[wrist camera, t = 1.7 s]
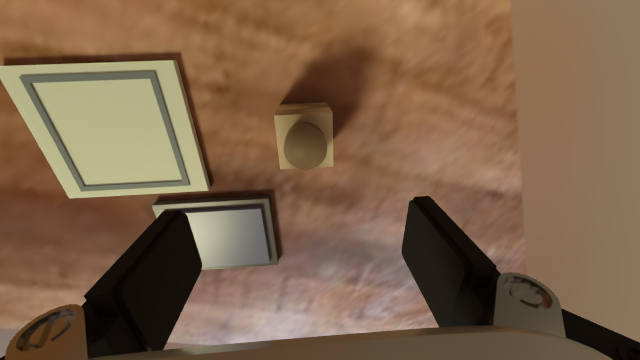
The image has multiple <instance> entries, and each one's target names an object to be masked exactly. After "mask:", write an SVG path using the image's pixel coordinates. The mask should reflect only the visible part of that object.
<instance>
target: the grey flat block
mask: <svg viewBox="0 0 640 360" xmlns="http://www.w3.org/2000/svg"><path fill="white" fill-rule="evenodd" d="M152 208H153V210H154V212H155V215H156V217H158V216H159V215H160V214H161V213H162V212H163V211H169V210H181V211H182V212H183V213H185V214H186V215H187V217H188V220H189V223H190V226H191V229H192V232H193V236H194V239H195V242H196V245H197V248H198V251H199V254H200V258H201V261H202V270H208V269H223V268H237V267H251V266H266V265H278V262H279V258H278V251H277V244H276V237H275V230H274V223H273V216H272V209H271V202H270V195H256V196H238V197H221V198H204V199H186V200H169V201H156V202H155V203H154V204H153V205H152Z"/></svg>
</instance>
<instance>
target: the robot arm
mask: <svg viewBox="0 0 640 360" xmlns="http://www.w3.org/2000/svg"><path fill="white" fill-rule="evenodd" d="M402 255H403V258H404V260H405V262H406V264H407V266H408V268H409V270H410V271H411V273H412V275H413V277H414V279H415V281H416V283H417V285H418V287H419V289H420V291H421V293H422V295H423V296H424V298H425V300H426V302H427V304H428V306H429V308H430V310H431V312H432V314H433V316H434V318H435V320H436V321H437V323H438V325H439V327H438V328H421V329H408V330H395V331H382V332H369V333H357V334H344V335H331V336H319V337H307V338H295V339H283V340H271V341H259V342H248V343H236V344H225V345H214V346H203V347H191V348H180V349H169V350H163V349H164V347H165V344H166V343H167V341H168V338H169V336H170V334H171V332H172V330H173V328H174V326H175V324H176V322H177V320H178V318H179V316H180V314H181V312H182V310H183V308H184V305H185V303H186V301H187V299H188V297H189V295H190V293H191V291H192V289H193V287H194V285H195V283H196V281H197V279H198V277H199V275H200V272H201V270H202V261H201V258H200V254H199V251H198V248H197V245H196V242H195V239H194V236H193V232H192V229H191V226H190V223H189V220H188V217H187V215H186V214H185V213H183V212H182V211H181V210H169V211H163V212H162V213H161V214H160V215H159V216H158V217H157V218H156V219H155V221H154V222H153V223H152V224H151V225H150V226H149V227H148V228H147V229H146V230H145V231H144V232H143V233H142V234H141V235H140V237H139V238H138V239H137V240H136V241H135V242H134V243H133V244H132V245H131V246H130V247H129V248H128V249H127V250H126V252H125V253H124V254H123V255H122V256H121V257H120V258H119V259H118V260H117V261H116V262H115V263H114V264H113V265H112V266H111V268H110V269H109V270H108V271H107V272H106V273H105V274H104V275H103V276H102V277H101V278H100V279H99V280H98V281H97V282H96V284H95V285H94V286H93V287H92V288H91V289H90V290H89V291H88V292H87V293H86V294H85V295H84V297H85V298H86V300H87V301H86V302H85V303H84V304H83V305H82V306H79V305H77V304H69V305H65V306H60V307H58V308H55V309H53V310H50V311H48V312H46V313H44V314H42V315H40V316H39V317H37V318H35V319H34V320H33V321H31V322H30V323H28V324H27V325H26V326H24V327H23V328H22V329H21V330H20V331H19V332H18V333H17V334H16V335H15V336H14V337H13V339H12V340H11V341H10V343H9V345H8V347H7V350H6V355H5V356H3V357H2V358H0V360H640V343H639V342H637V341H635V340H632V339H630V338H628V337H625V336H623V335H621V334H619V333H616V332H614V331H612V330H609V329H607V328H605V327H602V326H600V325H598V324H596V323H593V322H591V321H589V320H587V319H584V318H582V317H580V316H577V315H575V314H573V313H571V312H568V311H566V310H564V309H561V306H560V302H559V300H558V298H557V297H556V296H555V294H554V293H553V292H552V291H551V290H550V289H549V288H548V287H546V286H545V285H544V284H542V283H541V282H539V281H537V280H536V279H533V278H531V277H529V276H526V275H523V274H519V273H512V272H509V273H503V274H502V275H501V274H500V273H499V271H498V270H497V269H496V267H497V266H496V265H495V264H494V263H493V262H492V261H491V260H490V259H489V258H488V257H487V256H486V255H485V254H484V253H483V252H482V251H481V250H480V249H479V248H478V246H477V245H476V244H475V243H474V242H473V241H472V240H471V239H470V238H469V237H468V236H467V235H466V234H465V233H464V232H463V231H462V230H461V229H460V228H459V227H458V226H457V225H456V223H455V222H454V221H453V220H452V219H451V218H450V217H449V216H448V215H447V214H446V213H445V212H444V211H443V210H442V209H441V208H440V207H439V206H438V205H437V204H436V203H435V202H434V200H433V199H432V198H431V197H429V196H421V197H414V199H413V200H411V201H410V202H409V207H408V213H407V219H406V225H405V232H404V238H403V244H402Z"/></svg>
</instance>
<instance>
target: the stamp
mask: <svg viewBox="0 0 640 360" xmlns="http://www.w3.org/2000/svg"><path fill="white" fill-rule="evenodd" d="M274 118H275V127H276V136H277V145H278V153H279V162H280V169H295V168H298V169H302V170H309V169H313V168H315V167H333V112H332V111H331V109H330V107H329V105H328V104H327V102H318V103H294V104H280V105H279V107H278V109H277V111H276V113H275V115H274Z"/></svg>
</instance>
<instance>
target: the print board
mask: <svg viewBox="0 0 640 360" xmlns="http://www.w3.org/2000/svg"><path fill="white" fill-rule="evenodd" d="M0 79H1V81H2V82H3V84H4V86H5V88H6V89H7V91H8V93H9V94H10V96H11V98H12V100H13V101H14V103H15V105H16V107H17V108H18V110H19V112H20V114H21V115H22V117H23V119H24V121H25V122H26V124H27V126H28V127H29V129H30V131H31V133H32V134H33V136H34V138H35V140H36V141H37V143H38V145H39V147H40V148H41V150H42V152H43V154H44V155H45V157H46V159H47V160H48V162H49V164H50V166H51V167H52V169H53V171H54V173H55V174H56V176H57V178H58V180H59V181H60V183H61V185H62V186H63V188H64V190H65V192H66V193H67V195H68V197H69V198H85V197H103V196H121V195H139V194H156V193H174V192H192V191H208V190H209V189H210V188H211V187H210V183H209V180H208V176H207V172H206V168H205V164H204V161H203V157H202V153H201V149H200V146H199V142H198V138H197V134H196V131H195V127H194V123H193V119H192V116H191V112H190V108H189V104H188V100H187V97H186V93H185V89H184V85H183V82H182V78H181V74H180V70H179V67H178V63H177V60H165V61H136V62H106V63H77V64H47V65H18V66H0Z"/></svg>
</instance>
